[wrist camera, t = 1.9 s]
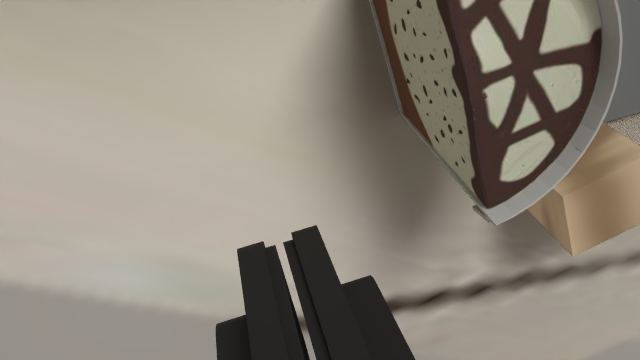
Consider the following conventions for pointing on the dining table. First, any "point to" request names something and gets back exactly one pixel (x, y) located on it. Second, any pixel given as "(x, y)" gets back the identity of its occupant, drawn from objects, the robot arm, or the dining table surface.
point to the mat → (627, 64)
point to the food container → (503, 88)
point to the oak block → (594, 194)
